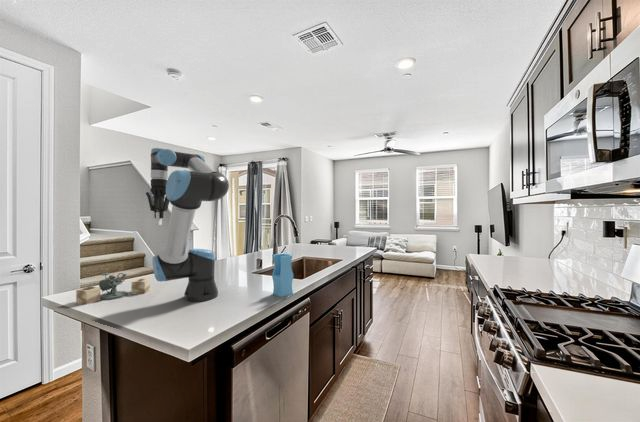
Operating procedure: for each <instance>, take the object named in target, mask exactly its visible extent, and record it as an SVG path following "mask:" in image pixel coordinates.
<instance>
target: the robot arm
mask: <svg viewBox="0 0 640 422" xmlns="http://www.w3.org/2000/svg"><path fill="white" fill-rule="evenodd" d="M169 167H172V168H173V167H174V168H184V170H179V169H177V170H176V169H175V170H174V171H172V172H170V174H169V173H168V172H169V171H168V170H169V169H168V168H169ZM185 169H186V170H185ZM187 169H189V170H187ZM168 174H169V176H168ZM150 178H151V179H150V186H151V187H150V191H148V192H145V195H146V197H147V200H148V204H149V208H150V211H152V212H153V213H154V219H155V226H159V225H160V226H162V225H163V218H164V213H165V212H167V211H168V209H169V205H170V204H171V206H172V207H171V212H170V217H169V222H168V226H167V231H166V237H165V240H164V241H165V243H164V246H163V247H162V248H161V249H159V253H158V255H156V254H155V255H153V256H152V269H153V275H154V278H155V279H156V281H157V282H168V281H175V280H180V279H187V278H188V282H187V285H186V289H185V291H184V294H183V295H184V297H183V299H184V300H185V301H188V302H204V301H210V300H213V299H215V298H216V297H218V295H219V290H218V287H217V284H216V281H215V265H216V264H215V263H216V262H215V261H216V258H215V252H214V251H213V250H211V249H203V248H190V249H188V250H187V247H188V242H189V237H190V234H191V230H192V225H193V221H194V218H195V214H196V211H197V210H199V208H201V205H202V202H215V201H219V200H221V199H222V198H224V197H225V196H226V195H227V194H228V192H229V188H230V184H229V180H228V178H227V177H226V176H225V175H224V173H222V172H220V171H216V170H215V169H213V167H211V166H210V165H209V164H207V163H206V159H205V156H203V155H201V154H196V153H195V154H194V153H188V152H187V153H186V152H179V151H174V150H172V149H168V148H159V147H153V148H152V149H151V151H150Z"/></svg>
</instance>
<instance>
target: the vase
mask: <svg viewBox="0 0 640 422" xmlns="http://www.w3.org/2000/svg"><path fill="white" fill-rule="evenodd" d="M293 256H294V255H293V254H290V253H283V252H282V253H276V254H275V253H274V254H272V258H273V263H274V268H273V271H272V273H271V276H272V277H271V278H272V282H273V292H272V295H275V296H276V297H279V298H283V297H287V296H292V295H294V291H293V280H294V276H295V275H294V272H293V268H292V261H293V260H292V259H293Z"/></svg>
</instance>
